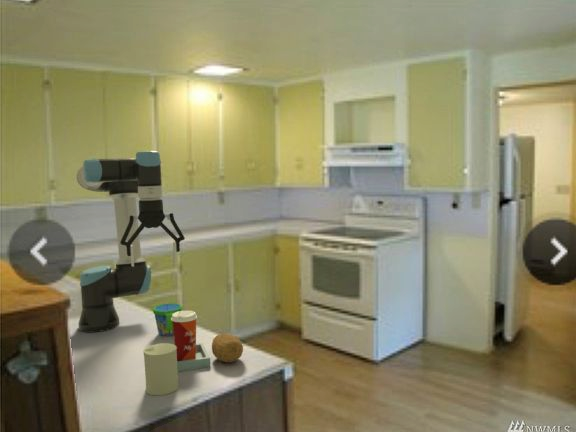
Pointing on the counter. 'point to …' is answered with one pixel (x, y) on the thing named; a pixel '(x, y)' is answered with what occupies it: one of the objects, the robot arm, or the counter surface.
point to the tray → (195, 360)
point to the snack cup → (165, 317)
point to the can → (161, 369)
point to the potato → (227, 347)
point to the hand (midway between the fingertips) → (154, 263)
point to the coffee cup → (185, 334)
